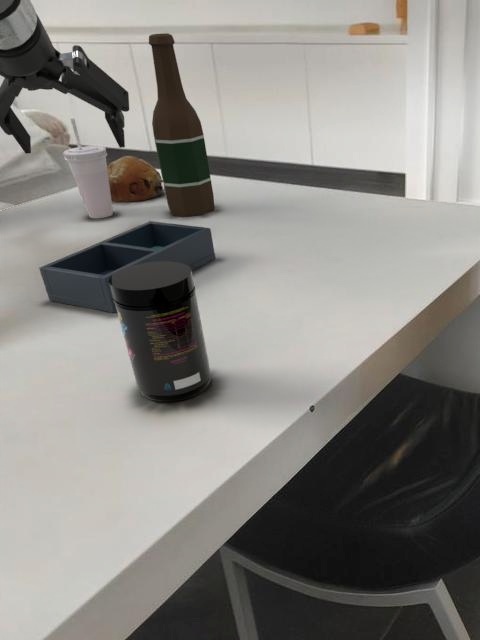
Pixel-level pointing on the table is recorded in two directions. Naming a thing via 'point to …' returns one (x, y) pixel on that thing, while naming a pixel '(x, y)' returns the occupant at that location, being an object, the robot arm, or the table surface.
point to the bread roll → (133, 180)
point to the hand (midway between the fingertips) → (75, 142)
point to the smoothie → (91, 176)
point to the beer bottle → (179, 137)
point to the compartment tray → (123, 261)
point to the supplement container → (162, 329)
